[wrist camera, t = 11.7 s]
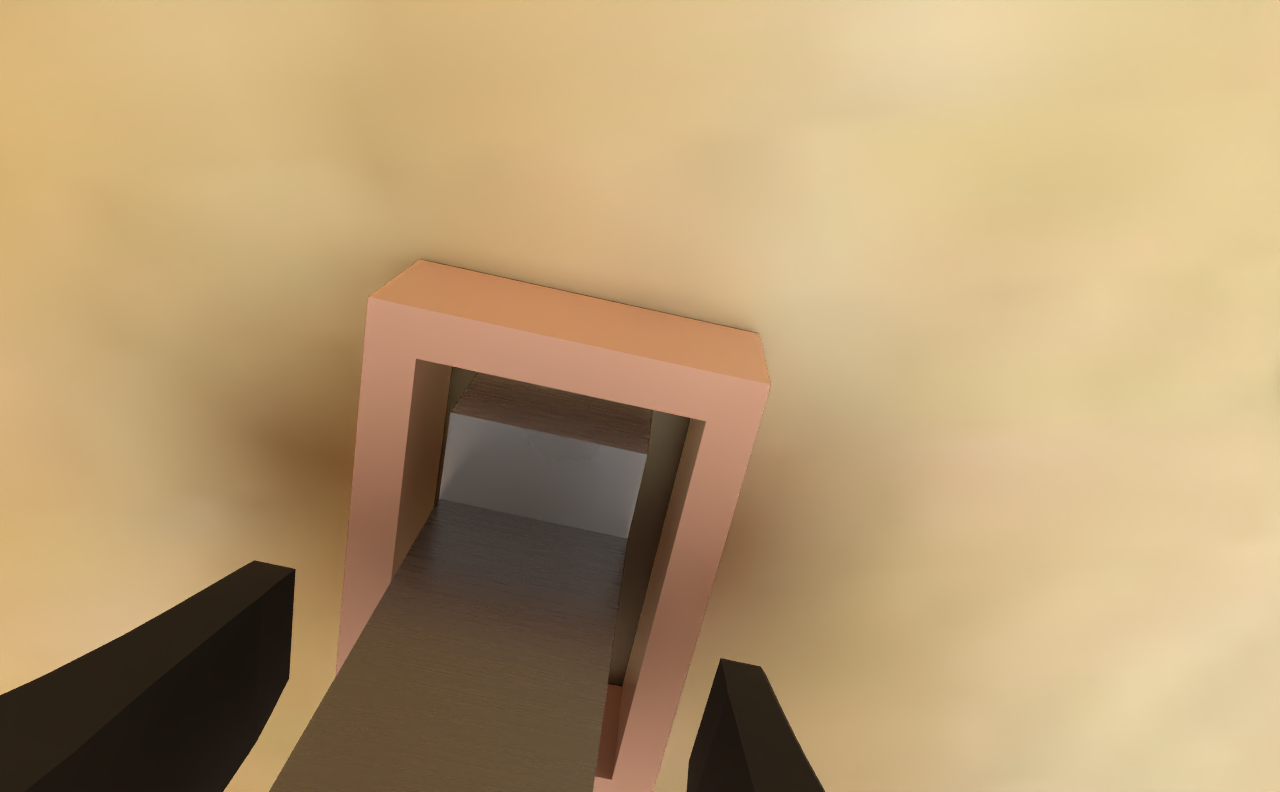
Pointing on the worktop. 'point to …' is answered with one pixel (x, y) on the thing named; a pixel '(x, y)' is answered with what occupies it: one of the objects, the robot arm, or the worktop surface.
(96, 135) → the worktop surface
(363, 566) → the pusher holder
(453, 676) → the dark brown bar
